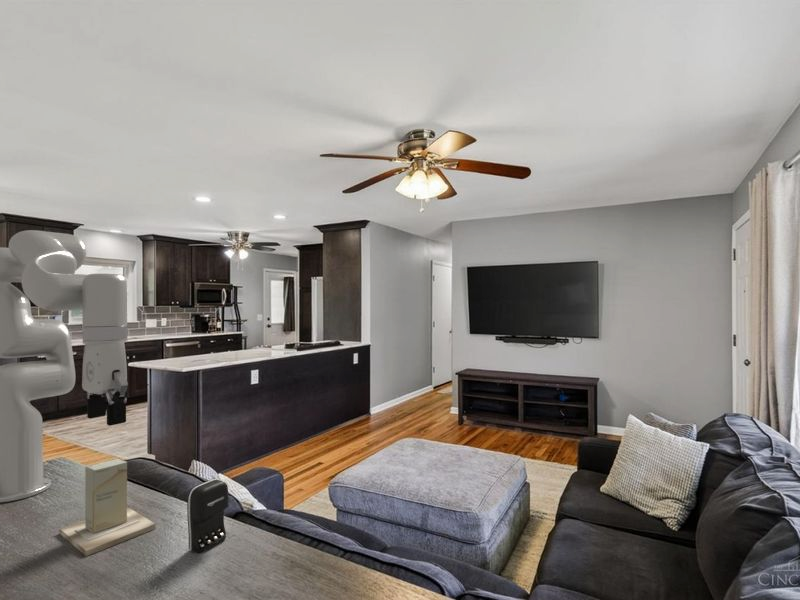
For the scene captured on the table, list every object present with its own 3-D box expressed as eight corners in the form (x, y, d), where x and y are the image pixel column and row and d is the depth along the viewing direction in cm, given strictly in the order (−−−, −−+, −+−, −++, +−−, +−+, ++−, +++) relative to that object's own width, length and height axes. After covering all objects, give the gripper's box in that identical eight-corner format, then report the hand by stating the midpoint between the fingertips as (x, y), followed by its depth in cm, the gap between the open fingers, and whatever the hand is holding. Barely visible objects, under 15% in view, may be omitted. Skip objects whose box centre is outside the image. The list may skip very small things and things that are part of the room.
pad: (59, 533, 88) (59, 527, 88) (125, 510, 98) (125, 504, 98) (86, 556, 80) (86, 549, 80) (155, 528, 90) (155, 522, 90)
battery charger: (200, 557, 79) (199, 492, 79) (186, 551, 81) (185, 488, 81) (232, 538, 85) (231, 479, 85) (219, 534, 87) (218, 475, 87)
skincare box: (92, 534, 85) (92, 471, 85) (84, 527, 88) (83, 466, 88) (128, 521, 90) (128, 461, 90) (119, 515, 93) (118, 457, 93)
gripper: (67, 335, 92) (68, 418, 91) (101, 338, 81) (102, 431, 81) (108, 332, 98) (109, 411, 97) (144, 335, 87) (145, 422, 87)
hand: (106, 420), depth 89 cm, fingers open, 9 cm apart
